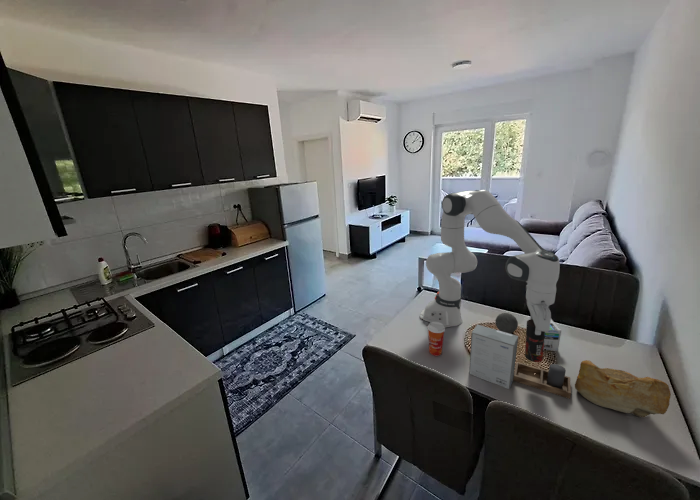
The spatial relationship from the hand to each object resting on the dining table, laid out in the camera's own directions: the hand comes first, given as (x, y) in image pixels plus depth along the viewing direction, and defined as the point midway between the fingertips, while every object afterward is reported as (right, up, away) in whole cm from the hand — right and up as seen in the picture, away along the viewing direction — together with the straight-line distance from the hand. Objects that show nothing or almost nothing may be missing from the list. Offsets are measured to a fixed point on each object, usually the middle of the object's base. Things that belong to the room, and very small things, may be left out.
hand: (535, 328), depth 111 cm
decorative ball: (+9, -12, +38) cm, 41 cm away
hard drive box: (-12, -22, +9) cm, 27 cm away
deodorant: (+2, -12, +4) cm, 13 cm away
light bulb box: (+22, -15, +27) cm, 38 cm away
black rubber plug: (+8, -22, +2) cm, 24 cm away
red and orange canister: (-30, -18, +26) cm, 44 cm away
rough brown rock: (+26, -25, -5) cm, 36 cm away
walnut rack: (+5, -22, +4) cm, 23 cm away
